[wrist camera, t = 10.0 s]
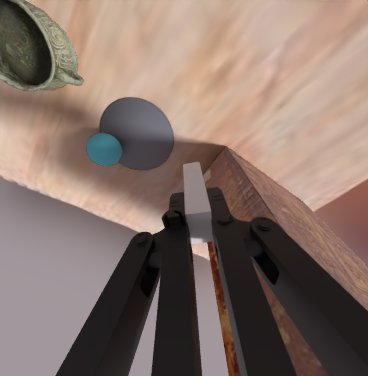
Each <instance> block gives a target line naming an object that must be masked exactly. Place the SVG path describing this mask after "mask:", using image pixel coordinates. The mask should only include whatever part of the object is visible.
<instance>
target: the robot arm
mask: <svg viewBox="0 0 368 376" xmlns="http://www.w3.org/2000/svg"><path fill="white" fill-rule="evenodd" d="M183 175H184V192H181V193H174V194H172V196H171V197H170V204H169V211H167V212H165V214H164V215H163V216H162V221H163V224H164V227H165V228H164V229H163V230H162V231H160V232H158V233H155V234H153V235H152V234H151V233H149V232H141V233H138V234H137V235H136V236H134V237H133V238H132V240H131V241H130V244H129V245H128V247H127V249H126V251H125V253H124V254H123V256H122V258H121V259H120V261H119V263H118V265H117V267H116V268H115V270H114V272H113V274H112V276H111V277H110V279H109V281H108V283H107V285H106V286H105V288H104V290H103V292H102V293H101V295H100V297H99V299H98V301H97V302H96V304H95V306H94V308H93V309H92V311H91V313H90V315H89V317H88V319H87V320H86V322H85V324H84V326H83V328H82V329H81V331H80V333H79V335H78V337H77V338H76V340H75V342H74V344H73V345H72V347H71V349H70V351H69V353H68V354H67V356H66V358H65V360H64V361H63V363H62V365H61V367H60V369H59V370H58V372H57V374H56V376H128V374H129V371H130V368H131V365H132V362H133V359H134V356H135V352H136V350H137V347H138V344H139V340H140V337H141V334H142V331H143V328H144V325H145V321H146V319H147V315H148V312H149V309H150V306H151V303H152V300H153V297H154V294H155V291H156V288H157V284H158V281H159V278H160V287H159V298H158V309H157V320H156V331H155V341H154V352H153V364H152V374H151V376H202V369H201V356H200V342H199V330H198V317H197V304H196V291H195V279H194V267H193V253H192V247H191V244H195V243H204V242H212V241H214V245H215V256H216V257H217V262H218V267H219V272H220V277H221V282H222V287H223V291H224V296H225V301H226V306H227V311H228V316H229V321H230V326H231V331H232V336H233V340H234V345H235V350H236V355H237V360H238V365H239V370H240V375H241V376H297V374H296V372H295V369H294V366H293V364H292V361H291V359H290V356H289V354H288V351H287V349H286V346H285V344H284V341H283V339H282V336H281V333H280V331H279V328H278V326H277V323H276V321H275V318H274V316H273V313H272V311H271V308H270V306H269V303H268V300H267V298H266V295H265V293H264V290H263V288H262V285H261V283H260V280H259V278H258V275H257V273H256V270H255V268H254V265H255V267H256V268H257V270H258V271H259V273H260V274H261V276H262V277H263V279H264V280H265V282H266V283H267V284H268V286H269V287H270V289H271V290H272V292H273V293H274V295H275V296H276V298H277V299H278V301H279V302H280V304H281V305H282V307H283V308H284V310H285V311H286V313H287V314H288V316H289V317H290V318H291V320H292V321H293V323H294V324H295V326H296V327H297V329H298V330H299V332H300V333H301V335H302V336H303V338H304V339H305V341H306V342H307V344H308V345H309V347H310V348H311V350H312V351H313V352H314V354H315V355H316V357H317V358H318V360H319V361H320V363H321V364H322V366H323V367H324V369H325V370H326V372H327V373H328V375H329V376H368V311H367V310H366V309H365V308H364V307H363V306H362V305H361V304H360V303H359V302H358V301H357V300H356V299H355V298H354V297H353V296H352V295H351V294H350V293H349V292H348V291H347V290H345V289H344V288H343V287H342V286H341V285H340V284H339V283H338V282H337V281H336V280H335V279H334V278H333V277H332V276H331V275H330V274H329V273H328V272H327V271H326V270H325V269H324V268H322V267H321V266H320V265H319V264H318V263H317V262H316V261H315V260H314V259H313V258H312V257H311V256H310V255H309V254H308V253H307V252H306V251H305V250H304V249H303V248H302V247H301V246H300V245H298V244H297V243H296V242H295V241H294V240H293V239H292V238H291V237H290V236H289V235H288V234H287V233H286V232H285V231H284V230H283V229H282V228H281V227H280V226H279V225H278V224H277V223H275V222H274V221H273V220H272V219H270V218H267V217H256V218H254V219H252V221H251V222H248V221H241V220H238V219H236V218H234V216H232V215H231V213H230V210H229V208H228V205H227V202H226V200H225V197H224V195H223V192H222V190H221V189H220V188H218V187H213V188H206V187H205V183H204V179H203V175H202V171H201V166H200V162H194V163H187V164H183ZM253 264H254V265H253ZM160 275H161V277H160Z"/></svg>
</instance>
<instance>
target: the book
mask: <svg viewBox="0 0 368 376" xmlns="http://www.w3.org/2000/svg"><path fill="white" fill-rule="evenodd" d="M202 175H203V179H204V183H205V187H206V188H213V187H218V188H220V189H221V190H222V192H223V195H224V197H225V200H226V202H227V205H228V208H229V210H230V213H231V215H232V216H234V218H236V219H238V220H241V221H248V222H251V221H252V219H254V218H256V217H267V218H270V219H272V220H273V221H274V222H275V223H277V224H278V225H279V226H280V227H281V228H282V229H283V230H284V231H285V232H286V233H287V234H288V235H289V236H290V237H291V238H292V239H293V240H294V241H295V242H296V243H297V244H298V245H300V246H301V247H302V248H303V249H304V250H305V251H306V252H307V253H308V254H309V255H310V256H311V257H312V258H313V259H314V260H315V261H316V262H317V263H318V264H319V265H320V266H321V267H322V268H324V269H325V270H326V271H327V272H328V273H329V274H330V275H331V276H332V277H333V278H334V279H335V280H336V281H337V282H338V283H339V284H340V285H341V286H342V287H343V288H344V289H345V290H347V291H348V292H349V293H350V294H351V295H352V296H353V297H354V298H355V299H356V300H357V301H358V302H359V303H360V304H361V305H362V306H363V307H364V308H365V309H366V310H367V311H368V266H367V265H366V264H365V263H364V262H363V261H362V260H361V259H360V258H359V257H358V256H357V255H356V254H355V253H354V252H353V251H352V250H351V249H350V248H349V247H347V245H346V244H345V243H344V242H343V241H342V240H341V239H340V238H339V237H338V236H337V235H336V234H335V233H334V232H332V230H331V229H330V228H329V227H328V226H326V224H325V223H324V222H323V221H322V220H320V218H318V216H317V215H316V214H314V212H313V211H312V210H311V209H310V208H309V207H308V206H307V205H306V204H305V203H304V202H303V201H301V200H300V199H299V198H297V197H296V196H295V195H293V194H292V193H290V192H289V191H288V190H286V189H285V188H283V187H282V186H281V185H279V184H278V183H277V182H275V181H274V180H272V179H271V178H270V177H268V176H267V175H265V174H264V173H263V172H261V171H260V170H259V169H257V168H256V167H254V166H253V165H252V164H250V163H249V162H248V161H246V160H245V159H243V158H242V157H241V156H239V155H238V154H236V153H235V152H234V151H232V150H231V149H230V148H228V147H227V146H226V147H225V148H224V149H223V151H222V152H221V153H220V154H219V155H218V157H217V158H216V159H215V160H214V161H213V163H212V164H211V165H210V166H209V167H208V168H207V170H206V171H205V172H204V173H203V174H202ZM207 244H208V250H209V256H210V262H211V268H212V274H213V281H214V287H215V293H216V299H217V305H218V311H219V318H220V323H221V329H222V336H223V342H224V348H225V354H226V361H227V366H228V372H229V376H241V375H240V370H239V365H238V360H237V355H236V350H235V345H234V340H233V336H232V331H231V326H230V321H229V316H228V311H227V306H226V301H225V296H224V291H223V287H222V282H221V277H220V272H219V267H218V262H217V257H216V256H215V245H214V241H212V242H207ZM253 265H254V264H253ZM254 268H255V270H256V273H257V275H258V278H259V280H260V283H261V285H262V288H263V290H264V293H265V295H266V298H267V300H268V303H269V306H270V308H271V311H272V313H273V316H274V318H275V321H276V323H277V326H278V328H279V331H280V333H281V336H282V339H283V341H284V344H285V346H286V349H287V351H288V354H289V356H290V359H291V361H292V364H293V366H294V369H295V372H296V374H297V376H329V375H328V373H327V372H326V370H325V369H324V367H323V366H322V364H321V363H320V361H319V360H318V358H317V357H316V355H315V354H314V352H313V351H312V350H311V348H310V347H309V345H308V344H307V342H306V341H305V339H304V338H303V336H302V335H301V333H300V332H299V330H298V329H297V327H296V326H295V324H294V323H293V321H292V320H291V318H290V317H289V316H288V314H287V313H286V311H285V310H284V308H283V307H282V305H281V304H280V302H279V301H278V299H277V298H276V296H275V295H274V293H273V292H272V290H271V289H270V287H269V286H268V284H267V283H266V282H265V280H264V279H263V277H262V276H261V274H260V273H259V271H258V270H257V268H256V267H255V265H254Z"/></svg>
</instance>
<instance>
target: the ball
mask: <svg viewBox="0 0 368 376" xmlns="http://www.w3.org/2000/svg"><path fill="white" fill-rule="evenodd" d="M86 150H87V154H88V156H89V157H90V159H91V160H92V161H93V162H95V163H97V164H99V165H102V166H110V165H113V164H115V163H116V162H118V161H119V159H120V158H121V155H122V147H121V144H120V142H119V141H118V140H117V139H116V138H115V137H114V136H112V135H110V134H107V133H98V134H95V135H93V136H92V137H90V139H89V140H88V142H87V145H86Z"/></svg>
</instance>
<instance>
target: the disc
mask: <svg viewBox="0 0 368 376" xmlns="http://www.w3.org/2000/svg"><path fill="white" fill-rule="evenodd" d="M100 133H107V134H110V135H112V136H114V137H115V138H116V139H117V140H118V141H119V142H120V144H121V147H122V155H121V158H120V159H119V161H118V162H119V163H121V164H122V165H124V166H126V167H129V168H131V169H135V170H149V169H153V168H156V167H158V166H160V165H161V164H162V163H164V162H165V161H166V159H167V158H168V157H169V155H170V153H171V151H172V148H173V131H172V127H171V125H170V122H169V120H168V119H167V117H166V116H165V114H164V113H163V112H162V111H161V110H160V109H159V108H158V107H157V106H155V105H154V104H152V103H150V102H148V101H146V100H143V99H140V98H124V99H120V100H118V101H116V102H114V103H112V104H111V105H110V106H109V107H108V108H107V109H106V111H105V112H104V114H103V116H102V119H101V124H100Z"/></svg>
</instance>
